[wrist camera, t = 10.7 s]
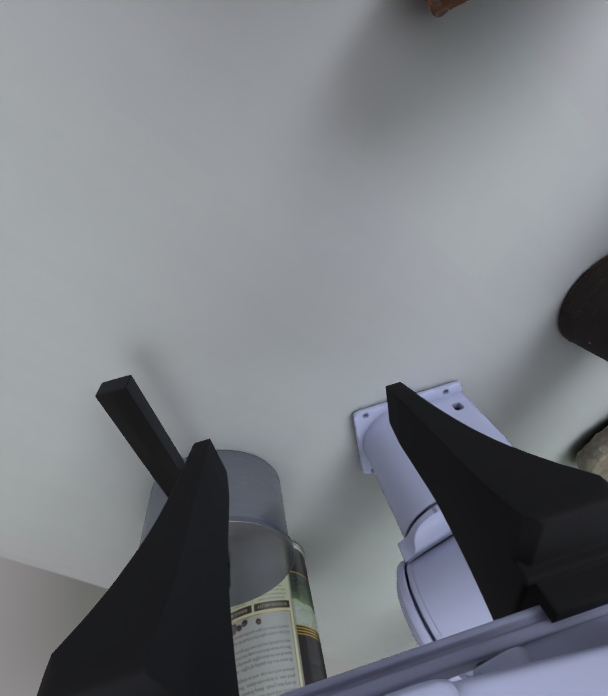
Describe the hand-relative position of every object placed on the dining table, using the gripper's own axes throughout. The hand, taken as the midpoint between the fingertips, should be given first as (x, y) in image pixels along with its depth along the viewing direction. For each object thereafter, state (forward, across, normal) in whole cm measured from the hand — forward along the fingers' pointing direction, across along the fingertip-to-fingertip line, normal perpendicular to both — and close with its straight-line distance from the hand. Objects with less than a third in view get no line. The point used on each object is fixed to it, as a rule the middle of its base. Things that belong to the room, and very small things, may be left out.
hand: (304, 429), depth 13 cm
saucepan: (+10, +9, +10) cm, 17 cm away
